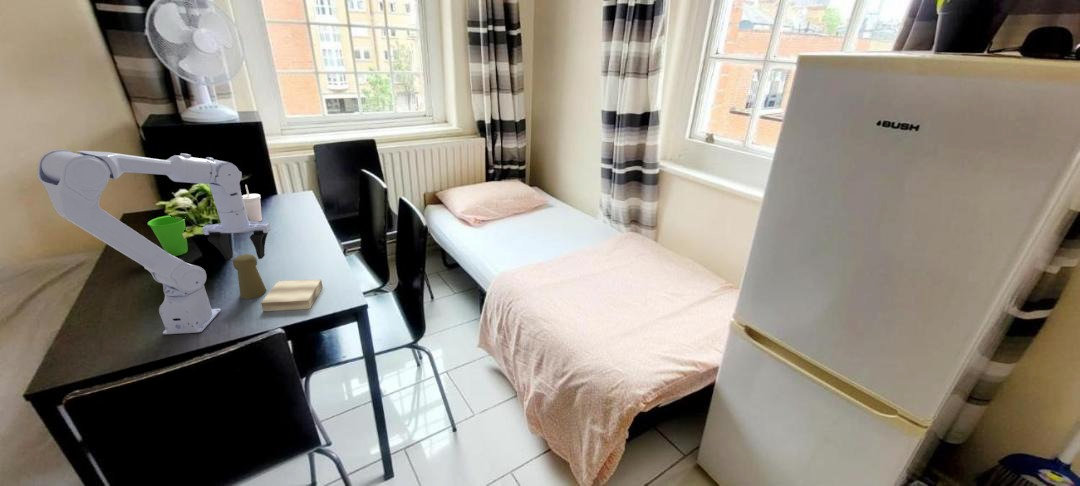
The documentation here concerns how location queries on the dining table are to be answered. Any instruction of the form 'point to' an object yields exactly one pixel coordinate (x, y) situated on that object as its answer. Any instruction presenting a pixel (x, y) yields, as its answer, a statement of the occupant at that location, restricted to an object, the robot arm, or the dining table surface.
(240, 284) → the cork
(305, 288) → the birch riser block
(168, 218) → the cup
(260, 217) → the smoothie
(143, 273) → the dining table surface
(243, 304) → the dining table surface
